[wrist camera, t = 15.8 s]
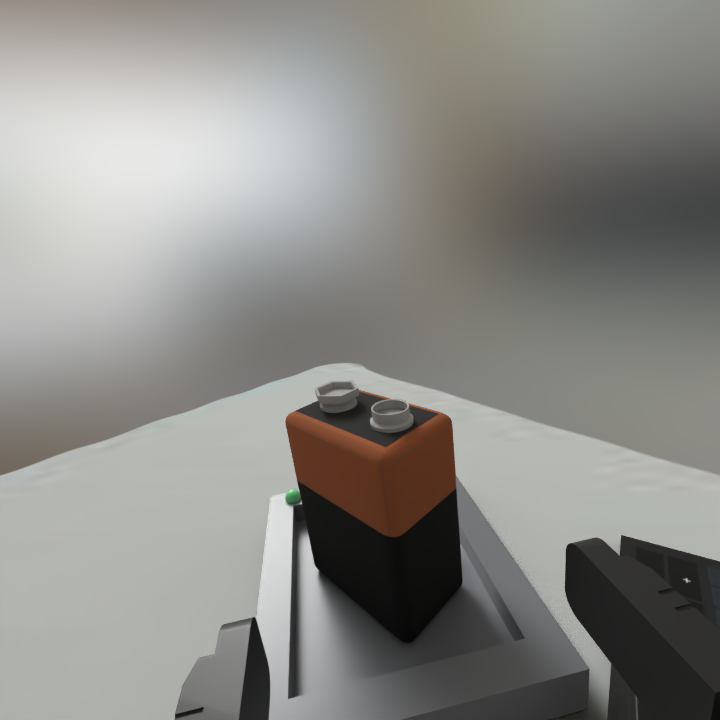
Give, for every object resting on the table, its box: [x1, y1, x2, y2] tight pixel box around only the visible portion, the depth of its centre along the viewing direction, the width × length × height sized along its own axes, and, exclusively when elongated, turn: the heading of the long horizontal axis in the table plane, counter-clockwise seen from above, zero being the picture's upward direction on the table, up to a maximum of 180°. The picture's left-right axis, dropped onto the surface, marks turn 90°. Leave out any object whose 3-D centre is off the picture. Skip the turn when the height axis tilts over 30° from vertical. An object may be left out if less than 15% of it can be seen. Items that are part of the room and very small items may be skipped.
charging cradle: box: [256, 476, 589, 720], centre depth 25 cm, size 24×12×3 cm, turn 8°
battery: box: [286, 381, 463, 643], centre depth 18 cm, size 4×7×10 cm, turn 43°
